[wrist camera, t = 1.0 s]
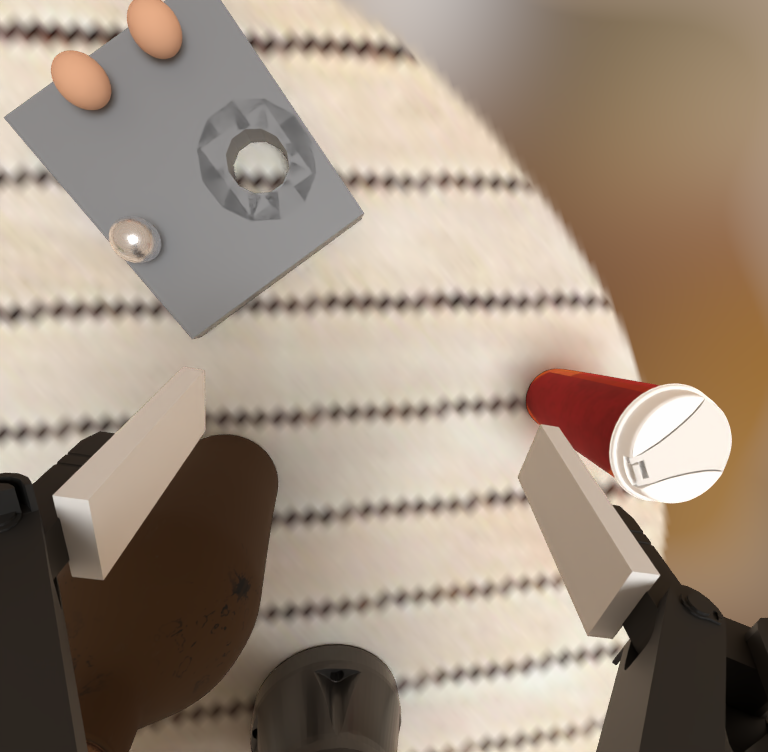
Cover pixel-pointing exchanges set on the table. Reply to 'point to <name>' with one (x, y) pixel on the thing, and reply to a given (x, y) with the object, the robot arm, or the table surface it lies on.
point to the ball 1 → (81, 80)
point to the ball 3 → (135, 239)
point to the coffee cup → (637, 431)
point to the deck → (193, 165)
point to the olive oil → (173, 595)
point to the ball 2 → (154, 28)
